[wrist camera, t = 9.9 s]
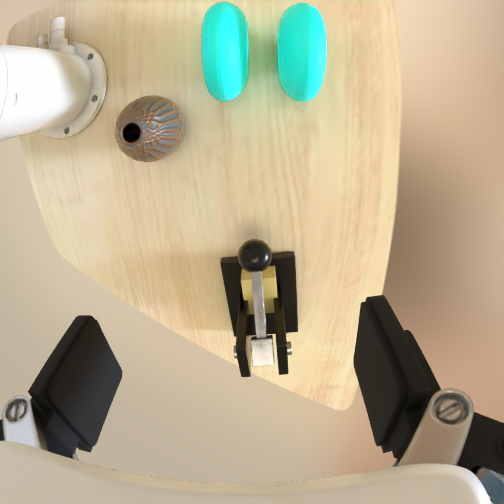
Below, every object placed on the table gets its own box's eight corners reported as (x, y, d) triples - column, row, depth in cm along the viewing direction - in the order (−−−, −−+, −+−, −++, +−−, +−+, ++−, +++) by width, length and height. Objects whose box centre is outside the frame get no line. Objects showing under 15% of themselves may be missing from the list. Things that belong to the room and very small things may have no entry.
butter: (241, 268, 37) (240, 280, 35) (274, 265, 37) (275, 277, 35) (246, 301, 40) (246, 314, 37) (277, 299, 39) (278, 312, 37)
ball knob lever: (238, 243, 34) (234, 238, 31) (270, 240, 34) (270, 234, 31) (248, 360, 33) (245, 368, 29) (280, 357, 33) (281, 365, 29)
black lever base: (221, 257, 38) (207, 320, 27) (293, 251, 38) (307, 312, 27) (234, 330, 43) (228, 398, 32) (297, 326, 43) (306, 393, 32)
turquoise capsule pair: (215, 20, 25) (199, -12, 17) (308, 20, 25) (327, -10, 16) (215, 102, 30) (198, 100, 21) (309, 103, 30) (330, 101, 21)
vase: (160, 167, 33) (132, 187, 25) (122, 128, 31) (84, 136, 23) (203, 126, 31) (185, 131, 23) (162, 84, 29) (132, 78, 21)
